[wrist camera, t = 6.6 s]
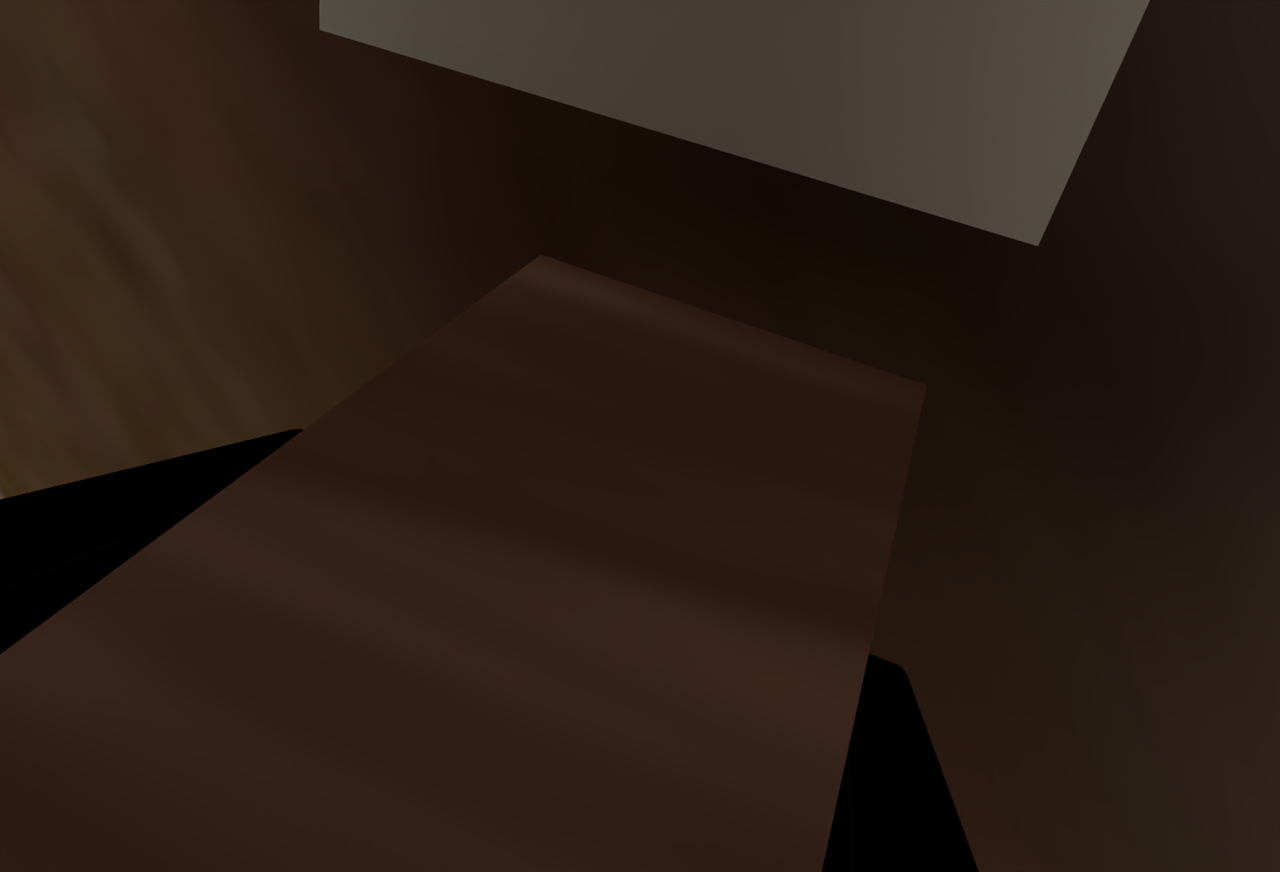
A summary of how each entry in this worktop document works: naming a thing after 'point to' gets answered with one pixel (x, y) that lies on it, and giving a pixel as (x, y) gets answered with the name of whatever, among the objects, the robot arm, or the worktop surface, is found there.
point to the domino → (809, 82)
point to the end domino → (490, 616)
